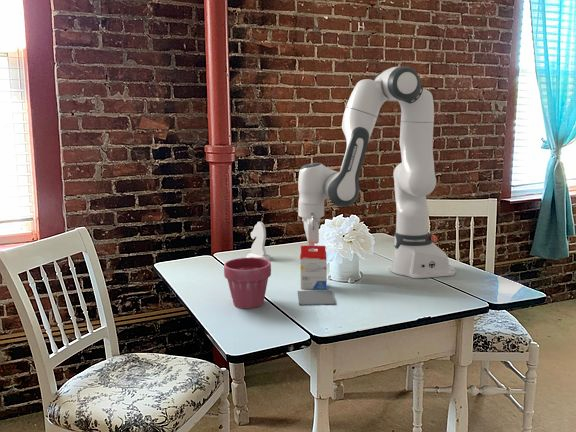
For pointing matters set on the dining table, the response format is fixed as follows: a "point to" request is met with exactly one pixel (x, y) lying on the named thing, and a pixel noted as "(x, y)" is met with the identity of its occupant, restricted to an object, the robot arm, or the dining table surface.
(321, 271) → the ink box
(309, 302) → the mat
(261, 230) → the chess piece
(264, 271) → the plant pot
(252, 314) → the dining table surface
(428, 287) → the dining table surface
